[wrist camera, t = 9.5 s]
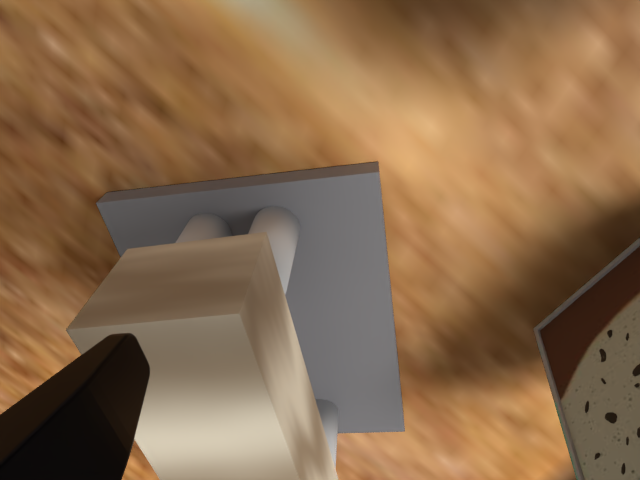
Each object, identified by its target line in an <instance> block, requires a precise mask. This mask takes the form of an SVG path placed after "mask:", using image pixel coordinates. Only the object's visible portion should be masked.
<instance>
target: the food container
mask: <svg viewBox="0 0 640 480" xmlns="http://www.w3.org/2000/svg"><path fill="white" fill-rule="evenodd" d="M533 331H534V334H535V337H536V341H537V344H538V348H539V351H540V355H541V358H542V362H543V365H544V368H545V372H546V375H547V379H548V382H549V386H550V389H551V392H552V396H553V399H554V403H555V406H556V410H557V413H558V417H559V420H560V423H561V427H562V430H563V434H564V437H565V441H566V444H567V448H568V451H569V454H570V458H571V461H572V465H573V468H574V472H575V475H576V478H577V480H640V238H638V239H637V240H636V241H635V242H634V243H633V244H631V245H630V246H629V247H628V248H627V249H626V250H624V251H623V252H622V253H621V254H620V255H619V256H617V257H616V258H615V259H614V260H613V261H612V262H610V263H609V264H608V265H607V266H606V267H605V268H603V269H602V270H601V271H600V272H599V273H598V274H596V275H595V276H594V277H593V278H592V279H591V280H589V281H588V282H587V283H586V284H585V285H584V286H582V287H581V288H580V289H579V290H578V291H577V292H575V293H574V294H573V295H572V296H571V297H570V298H568V299H567V300H566V301H565V302H564V303H563V304H561V305H560V306H559V307H558V308H557V309H556V310H554V311H553V312H552V313H551V314H550V315H549V316H547V317H546V318H545V319H544V320H543V321H542V322H540V323H539V324H538V325H537V326H536V327H535V328H533Z"/></svg>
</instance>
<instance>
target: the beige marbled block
mask: <svg viewBox="0 0 640 480" xmlns="http://www.w3.org/2000/svg"><path fill="white" fill-rule="evenodd" d="M66 331H67V332H68V334H69V335H70V337H71V339H72V340H73V342H74V343H75V345H76V347H77V348H78V350H79V351H80V353H81V355H82V354H84V353H85V352H86V351H88V350H89V349H90V348H92V347H93V346H94V345H96V344H97V343H99V342H100V341H101V340H103V339H104V338H105V337H107V336H108V335H111V334H119V333H131V334H133V335H134V336H136V338H137V340H138V342H139V344H140V346H141V348H142V350H143V352H144V354H145V356H146V358H147V360H148V363H149V366H150V377H149V382H148V386H147V390H146V394H145V398H144V402H143V406H142V410H141V414H140V418H139V422H138V426H137V430H136V434H135V438H134V439H135V441H136V442H137V444H138V445H139V447H140V449H141V450H142V452H143V453H144V455H145V456H146V458H147V460H148V461H149V463H150V464H151V466H152V468H153V469H154V471H155V472H156V474H157V476H158V477H159V479H160V480H338V476H337V473H336V469H335V466H334V462H333V459H332V456H331V452H330V449H329V445H328V442H327V438H326V435H325V431H324V428H323V424H322V421H321V418H320V414H319V411H318V407H317V404H316V400H315V397H314V393H313V390H312V387H311V383H310V380H309V376H308V373H307V369H306V366H305V362H304V359H303V356H302V352H301V349H300V345H299V342H298V338H297V335H296V331H295V328H294V325H293V321H292V318H291V314H290V311H289V307H288V304H287V300H286V297H285V294H284V290H283V287H282V283H281V280H280V276H279V273H278V269H277V266H276V263H275V259H274V256H273V252H272V249H271V245H270V242H269V238H268V235H267V232H262V233H253V234H245V235H237V236H229V237H221V238H213V239H205V240H196V241H188V242H180V243H172V244H164V245H156V246H148V247H139V248H131V249H127V250H126V251H125V253H124V254H123V255H122V257H121V258H120V259H119V261H118V262H117V263H116V265H115V266H114V267H113V268H112V270H111V271H110V272H109V274H108V275H107V276H106V278H105V279H104V280H103V282H102V283H101V284H100V286H99V287H98V288H97V290H96V291H95V292H94V294H93V295H92V296H91V297H90V299H89V300H88V301H87V303H86V304H85V305H84V307H83V308H82V309H81V311H80V312H79V313H78V315H77V316H76V317H75V319H74V320H73V321H72V322H71V324H70V325H69V326H68V328H67V329H66Z"/></svg>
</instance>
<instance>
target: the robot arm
mask: <svg viewBox="0 0 640 480" xmlns="http://www.w3.org/2000/svg"><path fill="white" fill-rule="evenodd" d="M149 377H150V366H149V363H148V360H147V358H146V356H145V354H144V352H143V350H142V348H141V346H140V344H139V342H138V340H137V338H136V336H134V335H133V334H131V333H119V334H111V335H108V336H107V337H105V338H104V339H103V340H101V341H100V342H99V343H97V344H96V345H94V346H93V347H92V348H90V349H89V350H88V351H86V352H85V353H84V354H82V355H81V356H80V357H78V358H77V359H75V360H74V361H73V362H71V363H70V364H69V365H67V366H66V367H65V368H63V369H62V370H60V371H59V372H58V373H56V374H55V375H54V376H52V377H51V378H50V379H48V380H47V381H46V382H44V383H43V384H41V385H40V386H39V387H37V388H36V389H35V390H33V391H32V392H31V393H29V394H28V395H26V396H25V397H24V398H22V399H21V400H20V401H18V402H17V403H16V404H14V405H13V406H12V407H10V408H9V409H7V410H6V411H5V412H3V413H2V414H1V415H0V480H121V479H122V476H123V474H124V471H125V468H126V465H127V462H128V459H129V456H130V452H131V449H132V445H133V442H134V438H135V434H136V430H137V426H138V422H139V418H140V414H141V410H142V406H143V402H144V398H145V394H146V390H147V386H148V382H149Z"/></svg>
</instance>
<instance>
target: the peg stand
mask: <svg viewBox="0 0 640 480" xmlns="http://www.w3.org/2000/svg"><path fill="white" fill-rule="evenodd" d="M96 205H97V207H98V209H99V211H100V213H101V215H102V218H103V220H104V222H105V224H106V226H107V229H108V231H109V233H110V235H111V237H112V239H113V242H114V244H115V246H116V248H117V250H118V253H119V255H120V257H122V255H123V254H124V253H125V251H126V250H127V249H131V248H139V247H148V246H156V245H164V244H172V243H180V242H188V241H196V240H205V239H213V238H221V237H229V236H237V235H245V234H253V233H262V232H267V235H268V238H269V242H270V245H271V249H272V252H273V256H274V259H275V263H276V266H277V269H278V273H279V276H280V280H281V283H282V287H283V290H284V294H285V297H286V300H287V304H288V307H289V311H290V314H291V318H292V321H293V325H294V328H295V331H296V335H297V338H298V342H299V345H300V349H301V352H302V356H303V359H304V362H305V366H306V369H307V373H308V376H309V380H310V383H311V387H312V390H313V393H314V397H315V400H316V404H317V407H318V411H319V414H320V418H321V421H322V424H323V428H324V431H325V435H326V438H327V442H328V445H329V449H330V452H331V456H332V459H333V462H334V466H336V448H337V433H366V432H403V431H405V428H404V416H403V405H402V395H401V385H400V375H399V365H398V355H397V345H396V335H395V325H394V315H393V305H392V295H391V285H390V275H389V265H388V255H387V245H386V235H385V224H384V214H383V204H382V194H381V184H380V174H379V164H378V162H371V163H362V164H353V165H345V166H336V167H327V168H318V169H309V170H300V171H292V172H283V173H274V174H265V175H256V176H247V177H239V178H230V179H221V180H212V181H203V182H195V183H186V184H177V185H168V186H159V187H150V188H142V189H133V190H124V191H115V192H107V193H106V194H105V195H104V196H103V197H102V198H101V199H100V200H99V201H98V202H97V203H96Z"/></svg>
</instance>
